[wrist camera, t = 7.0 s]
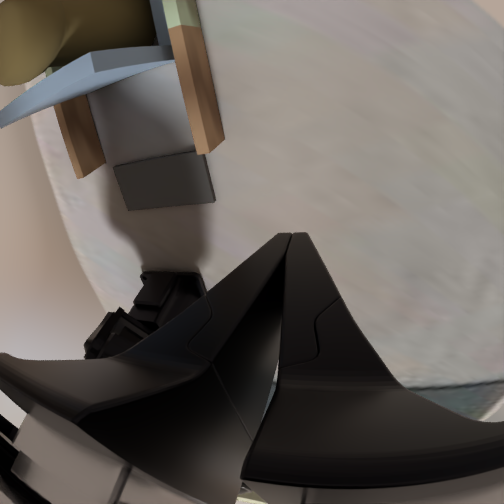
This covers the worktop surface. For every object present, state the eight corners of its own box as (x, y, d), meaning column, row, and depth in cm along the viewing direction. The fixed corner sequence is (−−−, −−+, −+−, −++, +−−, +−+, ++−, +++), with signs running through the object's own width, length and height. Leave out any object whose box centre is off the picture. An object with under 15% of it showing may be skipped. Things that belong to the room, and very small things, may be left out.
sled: (184, 58, 17) (94, 72, 10) (91, 92, 19) (0, 128, 12) (166, -29, 13) (73, -54, 6) (74, 17, 15) (-19, 30, 8)
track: (224, 139, 20) (209, 153, 17) (99, 164, 23) (77, 179, 20) (184, -53, 11) (162, -64, 9) (60, 10, 15) (34, 12, 12)
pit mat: (215, 200, 23) (214, 202, 22) (130, 208, 25) (128, 210, 25) (203, 149, 20) (201, 151, 20) (115, 166, 23) (113, 167, 22)
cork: (119, 81, 18) (-3, 126, 10) (79, 34, 16) (-40, 59, 7) (175, 24, 15) (48, 22, 7) (129, -24, 13) (3, -36, 4)
